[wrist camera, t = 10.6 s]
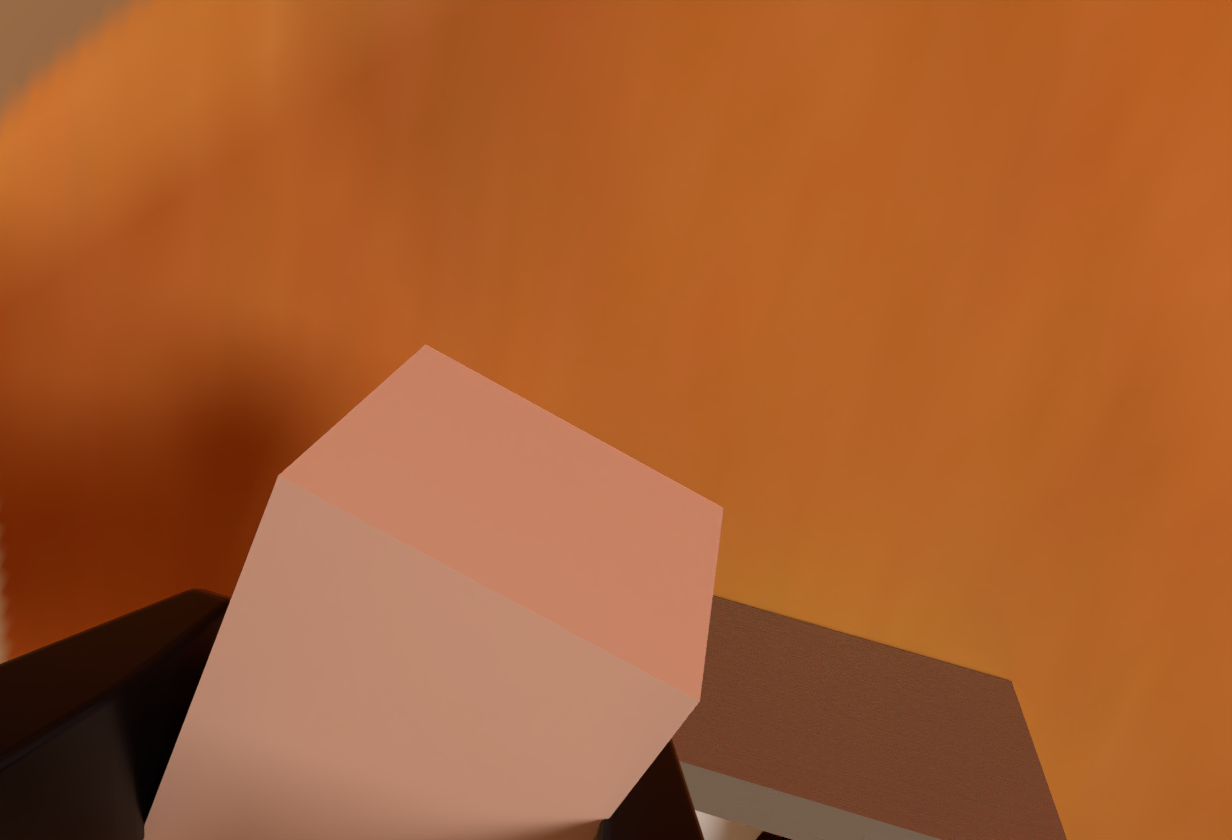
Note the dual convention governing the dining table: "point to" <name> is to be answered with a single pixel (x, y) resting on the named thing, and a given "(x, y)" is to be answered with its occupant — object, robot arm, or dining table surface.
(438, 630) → the pink rectangular block
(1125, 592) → the dining table surface
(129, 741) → the robot arm
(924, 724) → the box
